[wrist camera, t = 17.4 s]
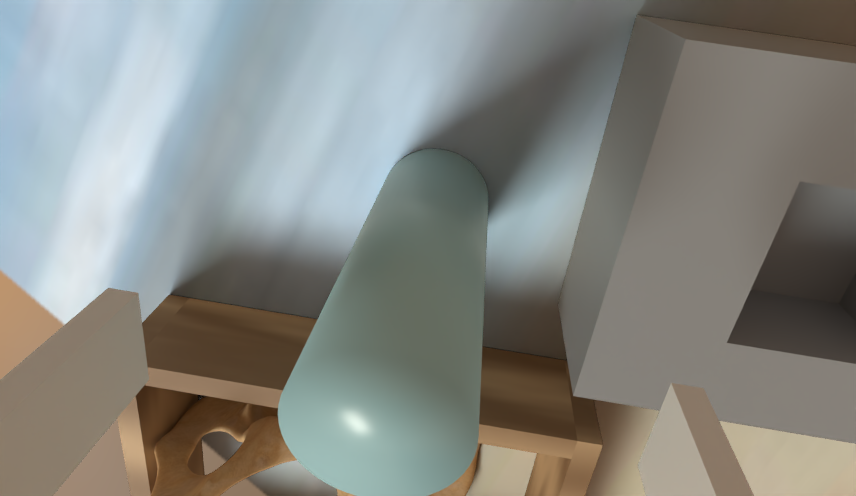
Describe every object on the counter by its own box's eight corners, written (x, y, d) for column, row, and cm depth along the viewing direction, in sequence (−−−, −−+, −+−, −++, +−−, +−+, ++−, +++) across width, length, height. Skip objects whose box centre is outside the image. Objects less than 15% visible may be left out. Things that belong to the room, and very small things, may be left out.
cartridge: (496, 157, 23) (494, 367, 11) (479, 254, 25) (462, 514, 14) (387, 141, 23) (277, 332, 12) (378, 239, 25) (278, 482, 14)
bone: (257, 265, 25) (547, 426, 27) (252, 300, 34) (469, 418, 36) (102, 511, 21) (453, 674, 23) (143, 476, 30) (393, 595, 32)
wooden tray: (519, 574, 35) (522, 666, 30) (192, 515, 35) (148, 596, 31) (586, 363, 27) (603, 445, 23) (169, 294, 28) (107, 360, 23)
